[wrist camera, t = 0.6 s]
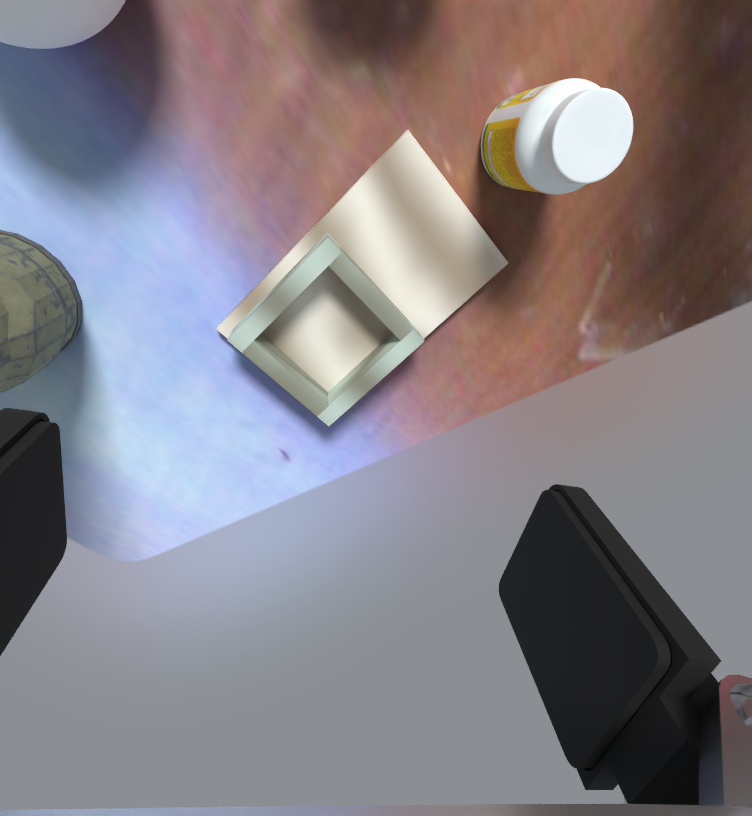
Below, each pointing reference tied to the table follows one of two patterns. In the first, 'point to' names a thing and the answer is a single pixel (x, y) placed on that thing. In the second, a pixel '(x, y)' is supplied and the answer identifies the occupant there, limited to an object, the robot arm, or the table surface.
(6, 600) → the robot arm
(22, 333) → the thermos
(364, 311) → the bottle caddy
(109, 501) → the table surface
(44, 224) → the table surface
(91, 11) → the ornament
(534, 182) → the supplement bottle
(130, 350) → the table surface
